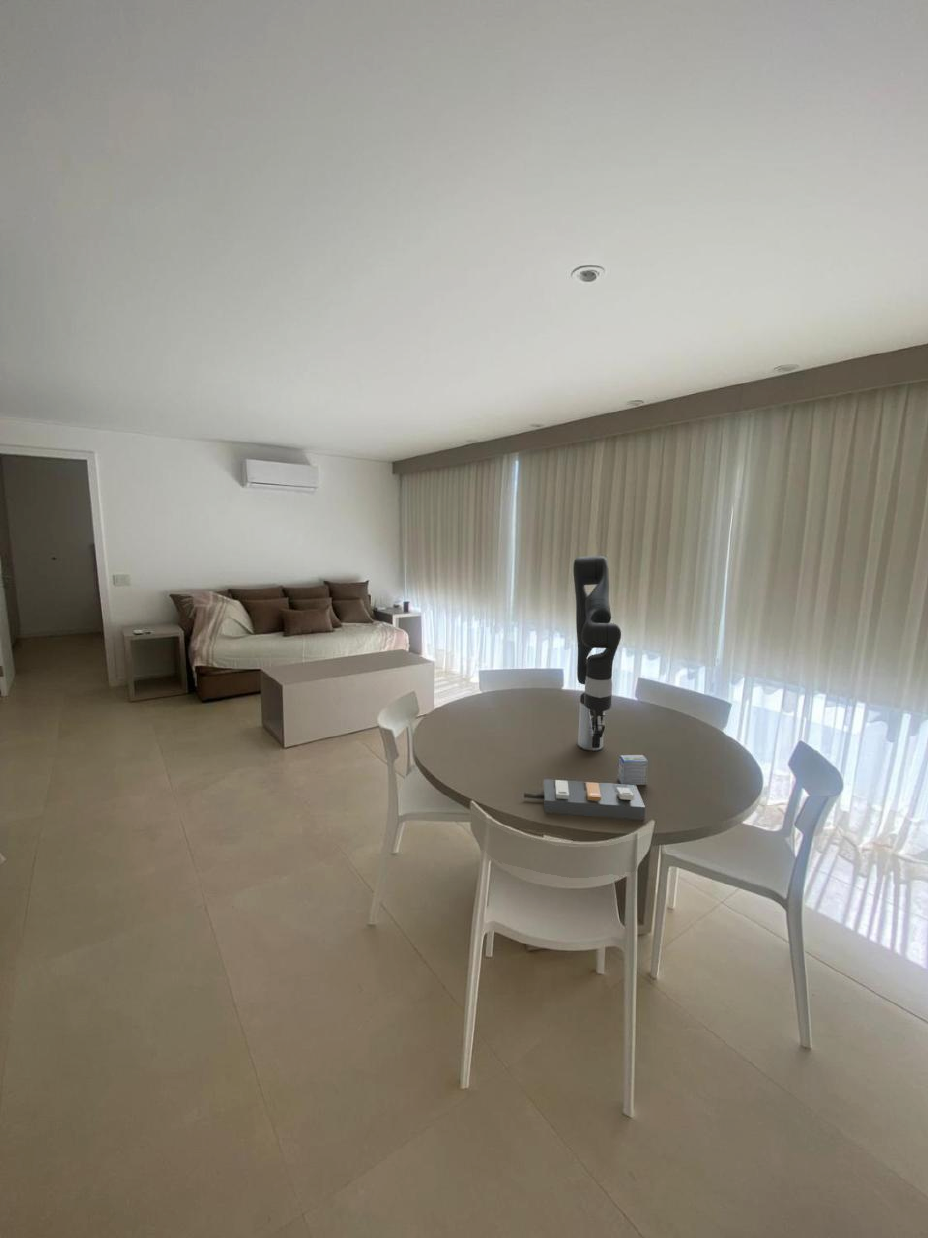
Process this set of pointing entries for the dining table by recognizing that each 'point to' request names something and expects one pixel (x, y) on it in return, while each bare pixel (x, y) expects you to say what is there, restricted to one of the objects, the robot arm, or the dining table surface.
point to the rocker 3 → (625, 793)
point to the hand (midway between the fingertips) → (595, 746)
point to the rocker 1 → (562, 789)
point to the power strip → (592, 801)
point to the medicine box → (633, 769)
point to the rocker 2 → (593, 791)
